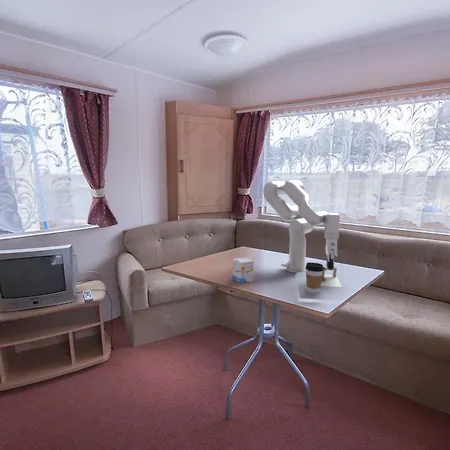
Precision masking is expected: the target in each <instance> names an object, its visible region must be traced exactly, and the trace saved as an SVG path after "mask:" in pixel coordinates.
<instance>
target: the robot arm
mask: <svg viewBox="0 0 450 450" xmlns="http://www.w3.org/2000/svg"><path fill="white" fill-rule="evenodd" d="M262 190H263V191H262V193H263V197H264V200H265V201H266V202H267V204H269V206H270V207H271V208H272V209H273V210H274V211H275V213H276V214H277V215H278V216H279V218H280V219H282V221H284V222H289V224H288V232H289V250H288V251H289V253H288V254H289V255H288V261H287V262H281V265H280V266H281V267H285V270H286V271H287V272H289V273H292V274H296V272H298V273H300V272H301V273H306V250H307V249H306V248H307V239H306V234H308V233H311V232H312V231H313V230H314V227H317V226H321V225H322V226H323V225H324V232H323V233H324V236H323V237H324V239H326V240H325V254H326V259H327V258H328V266H327V262H326V266H325V267H326V268H328V269H334V267H335V266H334V265H335V258H337V257H338V239H340V238H339V237H340V223H341V221H340V219H341V217H340V216H341V215H340V214H339V213H337V212H326V211H323V210H321V211H315V210H314V209H313V208H312V207H311V206H310V205H309V203H308V201H309V199H310V196H309V195H308V193H306V191H304V184H303V183H302V181H301V180H298V179H296V180H294V179H293V180H292V179H291V180H273V181H268V182H266V183H265V184H264V186H263V189H262ZM281 195H287V196H288V198H289V199H290V200H291V201H292V202H293V203H294V204H295V205H293V204H292V205H291V204H289V203H288V202H287V201H286V200H285V199H284V198H283V197H281ZM330 255H331V256H330ZM330 257H331V258H330Z"/></svg>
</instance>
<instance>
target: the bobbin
mask: <svg viewBox="0 0 450 450" xmlns="http://www.w3.org/2000/svg"><path fill="white" fill-rule="evenodd" d="M323 268H324V270H323V272H322V274H323V275H322V281H321V282H324V281H326V278H324V271H325V272H326V271H328V270H327V267H326V266H323Z"/></svg>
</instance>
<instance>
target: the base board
mask: <svg viewBox="0 0 450 450" xmlns="http://www.w3.org/2000/svg"><path fill="white" fill-rule="evenodd" d="M324 278H326V281H324V282H321V287H333V288H343V286H342V284H341V282H340V280H339V279H338V276H336V277H333V274H332V275H331V274H325V275H324Z"/></svg>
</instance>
